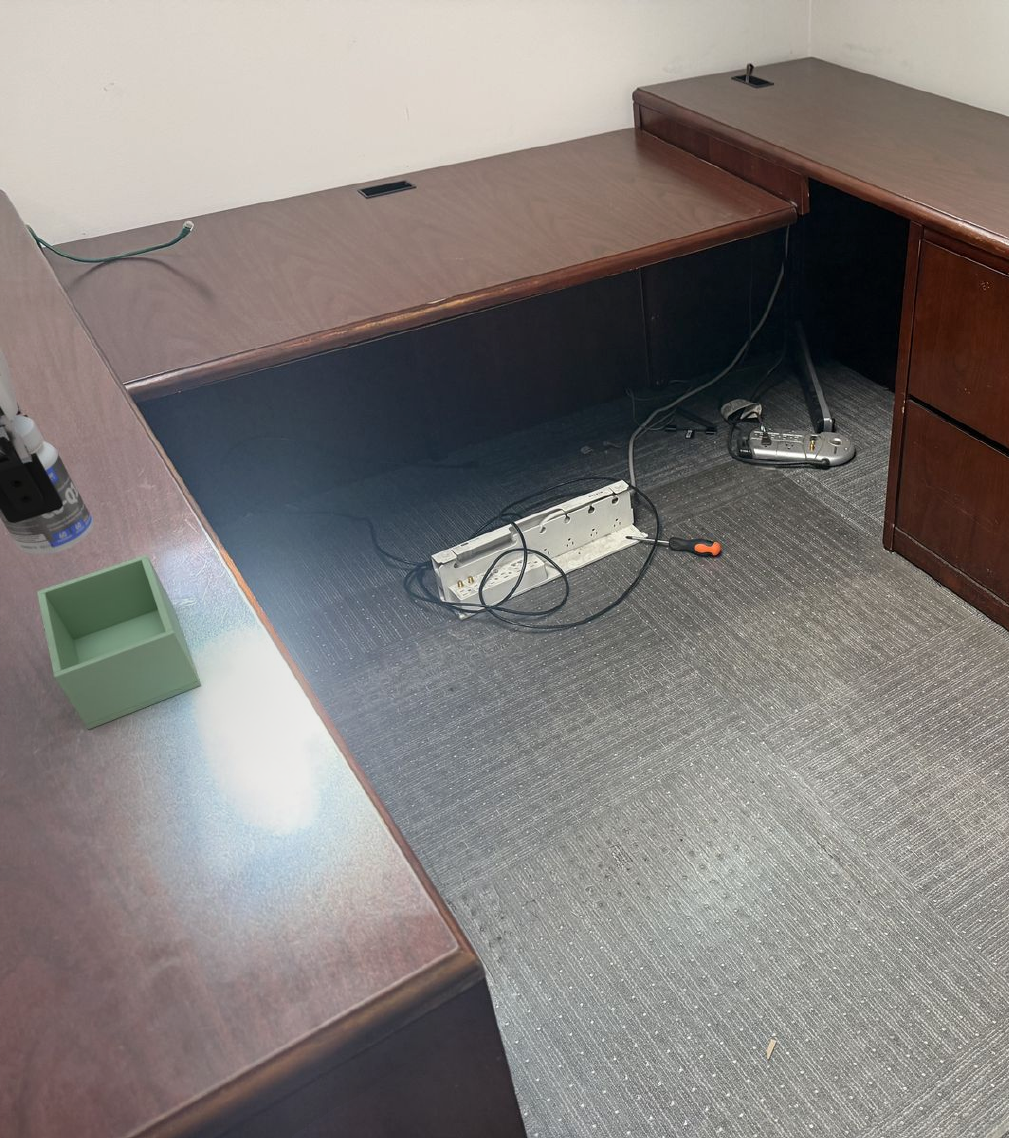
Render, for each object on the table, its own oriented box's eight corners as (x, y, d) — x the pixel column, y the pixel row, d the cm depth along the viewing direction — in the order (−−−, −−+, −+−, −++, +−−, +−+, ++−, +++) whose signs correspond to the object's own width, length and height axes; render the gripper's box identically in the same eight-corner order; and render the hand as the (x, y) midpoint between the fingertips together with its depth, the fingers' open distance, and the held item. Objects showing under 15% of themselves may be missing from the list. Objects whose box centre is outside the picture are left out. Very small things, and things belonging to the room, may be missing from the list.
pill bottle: (73, 557, 69) (13, 452, 64) (4, 556, 69) (-62, 451, 64) (108, 514, 73) (55, 411, 67) (43, 514, 73) (-16, 411, 68)
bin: (201, 685, 78) (173, 632, 75) (88, 730, 75) (54, 677, 72) (173, 605, 86) (146, 554, 82) (68, 643, 82) (36, 591, 79)
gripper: (-199, 194, 61) (-40, 453, 73) (-213, 298, 50) (-23, 583, 62) (-52, 168, 64) (77, 420, 76) (-34, 260, 53) (114, 538, 65)
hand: (31, 490), depth 69 cm, fingers closed on pill bottle, 4 cm apart
